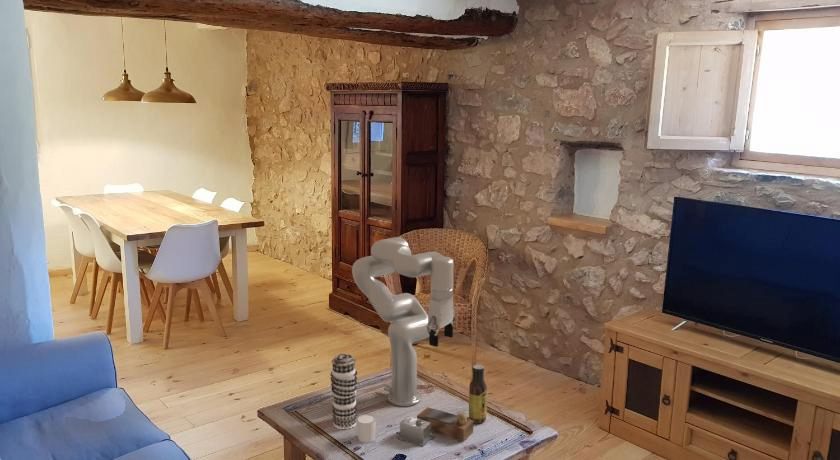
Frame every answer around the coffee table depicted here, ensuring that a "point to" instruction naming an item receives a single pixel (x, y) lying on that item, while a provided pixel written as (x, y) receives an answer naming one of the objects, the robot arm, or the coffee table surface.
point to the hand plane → (448, 423)
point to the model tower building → (344, 391)
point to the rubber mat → (414, 440)
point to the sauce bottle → (478, 396)
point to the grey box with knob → (415, 429)
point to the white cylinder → (366, 427)
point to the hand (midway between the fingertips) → (441, 341)
